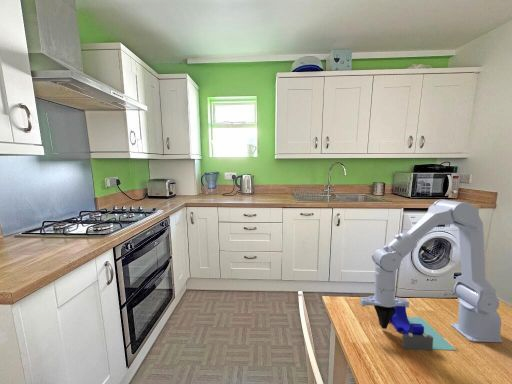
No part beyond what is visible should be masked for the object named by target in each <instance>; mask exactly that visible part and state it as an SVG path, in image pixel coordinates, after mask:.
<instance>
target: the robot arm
mask: <svg viewBox="0 0 512 384" xmlns="http://www.w3.org/2000/svg"><path fill="white" fill-rule="evenodd" d="M479 211H480V210H479V207H477V206H475V205H473V204H472V203H469V202H465V201H463V202H461V201H457V200H456V201H455V200H448V199H443V198H442V199H438V200H436V201H434V202H433V204H432V205H430V206H428V209H427V211H426V213H425V214H424V215H423V216H422V217H421V218H420V219H419V220H418V221H417V222H416V223H415V224H414V225H413V226H412V227H411V228H410V229H409V230H408V231H407V232H400V233H399V234H398V233H396V234H395V235H394V236H393V237H394V238H393V239H391V240H390V241H389V242H388V243H387V244H385V245H383V246H382V247H381V248H378V249H376V250H375V251H374V253H373V255H371V260H372V261H373V262H374V266H375V268H374V295H370V296H364V297H359V304H360V305H361V306H362V307H366V306H373V308H374V310H375V312H376V314H377V315H378V316H377V318H378V323H379V324H378V325H379V326H380V327H381V329H383V330H384V329H385V330H387V329H388V326H389V323H390V322H391V321H390V319H391V318H392V316H393V315H394V314H395V313H396V310H395V308H394V306H404V307H406V308H409V307H410V301H409V300H408V299H406V298H401V297H396V273H397V272H396V271H397V270H398V269H400V266H401V265H402V264H401V263H402V261H403V259H404V258H405V257H406V256H408V255H409V253H411V252H412V251H414V249H416V248H417V246H418V245H417V244H418V243H417V241H419V240H420V239H421V238H422V237H424V236H425V235H426V234H428V233H429V232H431V231H433V229H435V228H436V227H438V226H441V225H442V226H443V225H448V226H449V225H453V226H455V227H456V228H458V232H459V233H458V234H459V255H460V267H461V268H460V269H461V271H460V272H461V275H458V276H456V277H455V284H454V285H453V293H454V295H455V296H456V297H457V301H458V316H457V323H455V322H453V323H452V322H450V327H452V328H454V329H455V330H456V331H458V333H460V335H462V336H464V337H465V339H467V340H468V341H469V342H481V343H503V342H504V341H503V339H502V338H501V331H502V330H501V328H502V320H501V319H502V318H501V316H500V314H499V313H498V311H497V310H498V309H499V307H500V299H499V298H498V296H497V294H496V289H495V287H494V286H493V285H492V284H491V283H490V282H489V281H488V280H487V278H486V277H487V276H486V263H485V262H486V260H485V259H486V258H485V242H484V241H485V240H484V239H485V237H484V224H483V223H484V221H482V218H481V216H480V212H479Z"/></svg>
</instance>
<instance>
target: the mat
mask: <svg viewBox="0 0 512 384" xmlns="http://www.w3.org/2000/svg"><path fill="white" fill-rule="evenodd" d="M407 318H408V321H409V323H414V324H422V325H423V327H424V333H425V334H427V335H431V336H432V337H433V350H434V351H436V350H439V351H443V350H444V351H457V349H456V348H455V347H454V346H452V344H450V342H448V341H447V340H446V339H445V338H444V337H443V336H442V335H441V334H439V332H438V331H436V330H435V329H434V327H432V326H431V325H430V324H429V323H428V322H427V320H425V319H424V318H422V316H421V317H420V316H419V317H418V316H415V317H412V316H411V317H410V316H407Z"/></svg>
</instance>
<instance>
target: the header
mask: <svg viewBox="0 0 512 384" xmlns="http://www.w3.org/2000/svg"><path fill="white" fill-rule="evenodd" d="M376 317H378V315H377V316H376ZM401 338H402V340H401V348H402V349H403V350H404V351H426V352H427V351H428V352H429V351H430V352H431V351H433V350H434V349H433V337H432V336H431V335H427V334H425V333H423V335H413V334H412V333H409V335H407V334H404V333H403V334H402V337H401Z"/></svg>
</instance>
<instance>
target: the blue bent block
mask: <svg viewBox="0 0 512 384" xmlns="http://www.w3.org/2000/svg"><path fill="white" fill-rule="evenodd" d="M394 308H395V310H396V313H395V314H394V315H393V316H392V318H391V319H390V321H389V322H390V323H391V325H392V326H393V327H394V329H395V330H396V332H399V333H401V332H402V333H403V334H407V335H409V333H412V334H413V335H423V333H424V327H423V325H422V324H414V323H409V321H408V318H407V317H408V315H407V310H406V309H407V307H404V306H394Z"/></svg>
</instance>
